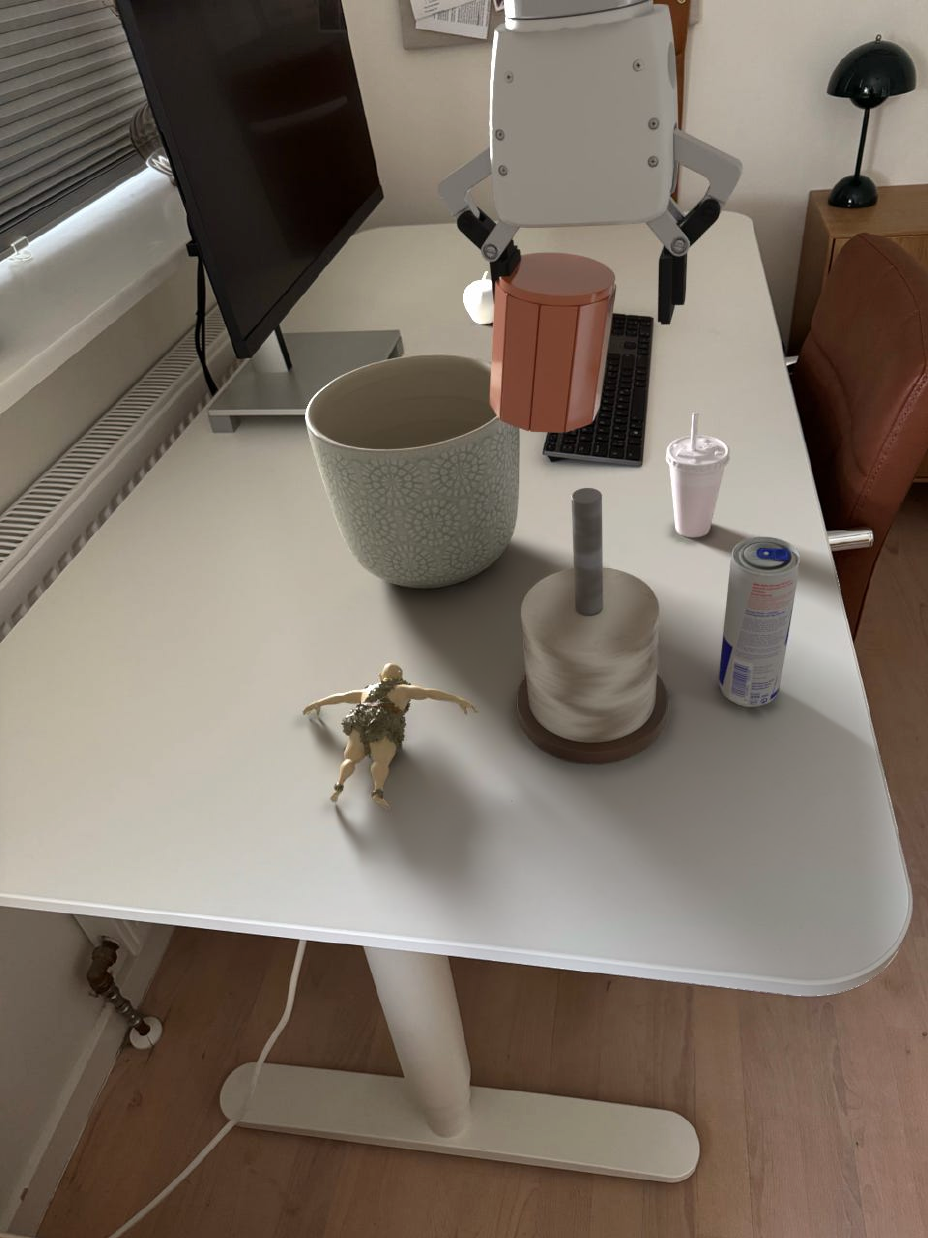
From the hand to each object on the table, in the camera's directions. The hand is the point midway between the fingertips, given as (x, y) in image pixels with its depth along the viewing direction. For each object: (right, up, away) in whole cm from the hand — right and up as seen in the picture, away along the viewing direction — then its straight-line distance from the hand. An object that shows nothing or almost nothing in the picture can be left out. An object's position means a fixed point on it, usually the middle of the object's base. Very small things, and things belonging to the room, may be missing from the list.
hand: (588, 316), depth 56 cm
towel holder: (+3, -27, +23) cm, 35 cm away
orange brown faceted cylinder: (-2, -4, +5) cm, 7 cm away
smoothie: (+17, -9, +42) cm, 46 cm away
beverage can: (+17, -25, +22) cm, 38 cm away
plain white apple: (-4, +31, +94) cm, 99 cm away
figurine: (-15, -30, +22) cm, 40 cm away
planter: (-11, -12, +43) cm, 46 cm away
